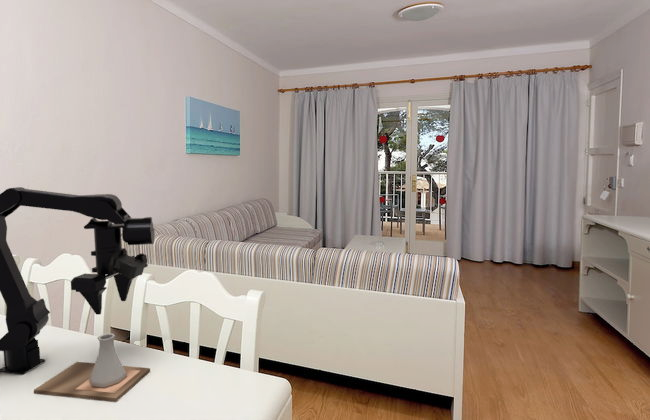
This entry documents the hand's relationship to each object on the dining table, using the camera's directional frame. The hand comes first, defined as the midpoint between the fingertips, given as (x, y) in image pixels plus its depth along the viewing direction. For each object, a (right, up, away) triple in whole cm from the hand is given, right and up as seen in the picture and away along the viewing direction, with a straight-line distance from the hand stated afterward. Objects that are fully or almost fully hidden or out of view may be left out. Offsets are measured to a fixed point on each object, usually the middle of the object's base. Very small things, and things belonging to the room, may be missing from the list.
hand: (111, 307), depth 96 cm
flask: (+5, -14, -10) cm, 18 cm away
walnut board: (+2, -14, -10) cm, 17 cm away
